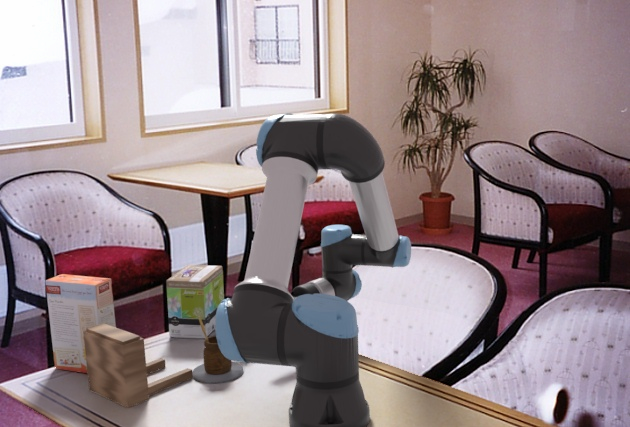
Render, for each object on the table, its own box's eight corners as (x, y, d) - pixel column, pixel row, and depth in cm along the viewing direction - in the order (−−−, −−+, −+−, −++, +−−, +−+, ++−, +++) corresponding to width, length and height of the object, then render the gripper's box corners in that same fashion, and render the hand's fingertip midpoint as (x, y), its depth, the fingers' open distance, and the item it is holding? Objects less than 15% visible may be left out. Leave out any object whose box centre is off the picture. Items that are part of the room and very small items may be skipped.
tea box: (207, 339, 197) (203, 280, 194) (168, 338, 199) (163, 280, 196) (226, 318, 211) (222, 263, 208) (189, 317, 213) (185, 263, 210)
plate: (254, 370, 177) (253, 368, 177) (215, 387, 169) (215, 385, 169) (220, 359, 184) (220, 356, 184) (182, 375, 176) (181, 372, 176)
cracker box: (121, 367, 182) (112, 277, 178) (103, 377, 177) (94, 285, 172) (72, 359, 188) (62, 272, 184) (54, 369, 183) (43, 279, 178)
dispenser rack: (197, 379, 174) (192, 318, 171) (128, 408, 161) (122, 343, 158) (157, 364, 183) (152, 306, 180) (89, 390, 170) (82, 328, 168)
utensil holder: (230, 375, 174) (227, 321, 171) (201, 376, 174) (197, 322, 171) (233, 364, 179) (230, 312, 177) (204, 365, 179) (201, 313, 177)
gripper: (352, 322, 189) (288, 350, 174) (276, 303, 206) (212, 326, 190) (350, 291, 188) (286, 316, 172) (274, 274, 204) (209, 296, 189)
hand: (247, 322), depth 181 cm, fingers open, 13 cm apart
